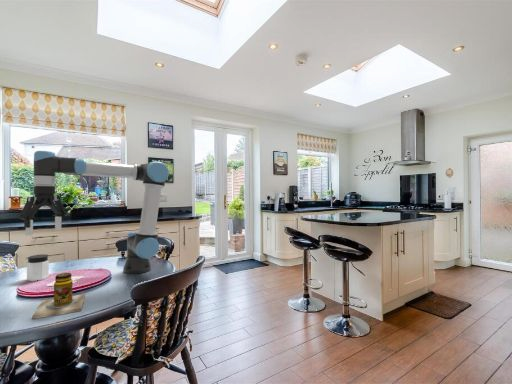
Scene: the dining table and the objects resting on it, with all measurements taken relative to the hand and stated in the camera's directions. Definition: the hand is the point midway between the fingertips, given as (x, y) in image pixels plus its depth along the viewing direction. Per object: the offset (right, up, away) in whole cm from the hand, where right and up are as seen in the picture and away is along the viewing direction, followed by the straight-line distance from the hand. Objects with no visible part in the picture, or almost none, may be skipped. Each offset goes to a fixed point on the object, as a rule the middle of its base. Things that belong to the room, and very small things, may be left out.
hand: (44, 232), depth 117 cm
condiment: (+16, -27, -11) cm, 34 cm away
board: (+16, -29, -11) cm, 35 cm away
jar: (-21, -28, +21) cm, 41 cm away
